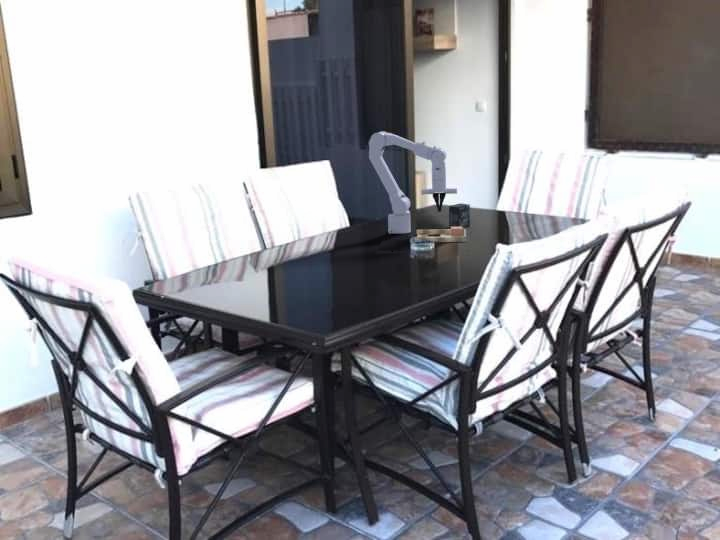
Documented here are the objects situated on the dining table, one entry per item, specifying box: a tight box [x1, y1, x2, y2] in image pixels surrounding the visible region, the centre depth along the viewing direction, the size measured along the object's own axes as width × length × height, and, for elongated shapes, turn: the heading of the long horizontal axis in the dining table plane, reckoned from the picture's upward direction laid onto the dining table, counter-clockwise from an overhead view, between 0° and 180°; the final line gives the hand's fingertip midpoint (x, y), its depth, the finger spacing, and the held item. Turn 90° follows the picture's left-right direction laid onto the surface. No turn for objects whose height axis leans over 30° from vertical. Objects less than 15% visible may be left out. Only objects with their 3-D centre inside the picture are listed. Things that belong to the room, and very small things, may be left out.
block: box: [450, 226, 463, 237], centre depth 294 cm, size 4×4×4 cm
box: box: [448, 203, 471, 229], centre depth 315 cm, size 8×6×11 cm
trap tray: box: [413, 228, 467, 243], centre depth 295 cm, size 20×16×3 cm
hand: (439, 211), depth 304 cm, fingers closed
